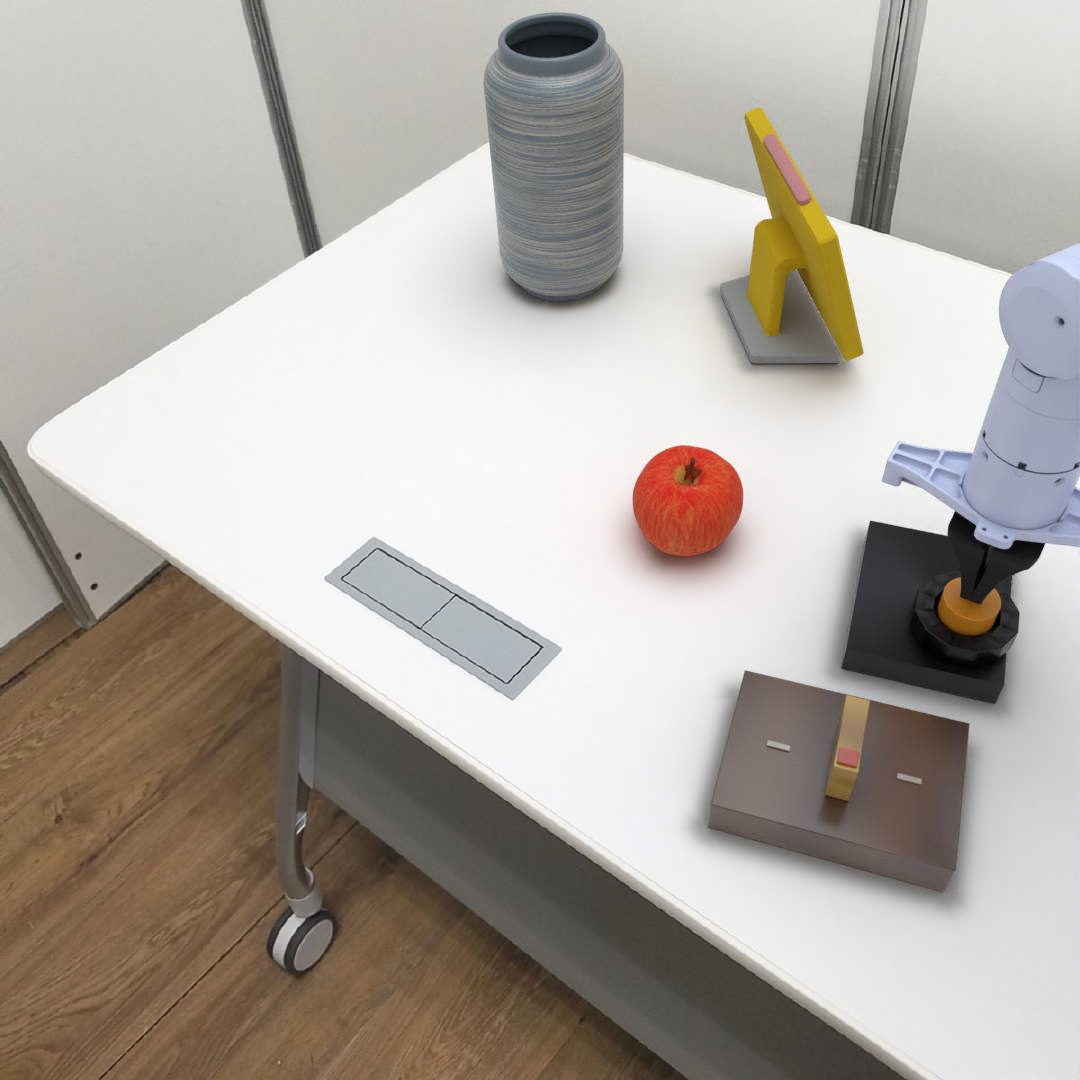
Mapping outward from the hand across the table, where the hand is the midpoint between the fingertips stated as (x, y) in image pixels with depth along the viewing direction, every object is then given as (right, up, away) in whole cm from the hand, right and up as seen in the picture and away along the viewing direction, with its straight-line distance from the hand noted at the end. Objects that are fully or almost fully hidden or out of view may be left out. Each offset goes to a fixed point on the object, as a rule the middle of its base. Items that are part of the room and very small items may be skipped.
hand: (974, 590), depth 70 cm
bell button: (0, -2, +2) cm, 2 cm away
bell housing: (-1, -2, +6) cm, 7 cm away
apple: (-17, +4, +13) cm, 22 cm away
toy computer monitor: (-6, +23, +29) cm, 37 cm away
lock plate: (-9, -12, -2) cm, 16 cm away
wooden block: (-10, -10, -4) cm, 15 cm away
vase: (-26, +29, +35) cm, 52 cm away
